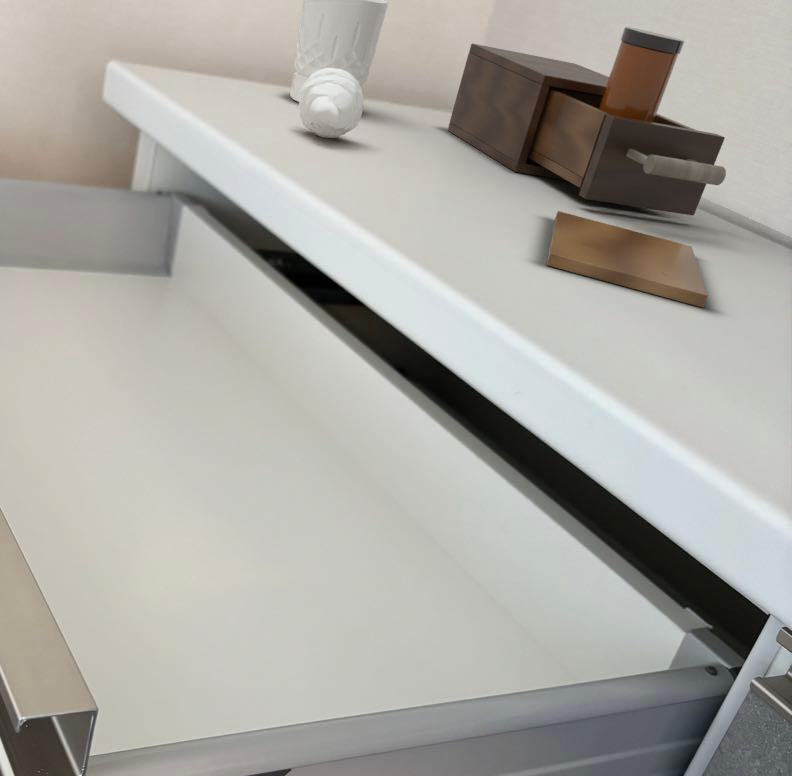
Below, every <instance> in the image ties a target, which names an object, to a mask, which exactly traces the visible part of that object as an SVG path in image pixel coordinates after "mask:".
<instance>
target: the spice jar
mask: <svg viewBox="0 0 792 776" xmlns="http://www.w3.org/2000/svg"><path fill="white" fill-rule="evenodd" d="M684 44H685V40H683V39H680V38H676V37H673V36H669V35H666V34H661V33H658V32H653V31H649V30H644V29H640V28H635V27H630V26H625V27H624V28H623V32H622V34H621V38H620V44H619V47H618V50H617V53H616V56H615V59H614V62H613V65H612V67H611V71H610V74H609V76H608V77H609V79H608V82H607V85H606V88H605V91H604V94H603V97H602V100H601V103H600V106H599V110H601V111H604V112H606V113H608V114H610V115H615V116H621V117H626V118H632V119H637V120H643V121H648V122H654V119H655V117H656V114H658V111H659V108H660V106H661V103H662V100H663V98H664V96H665V95H664V94H665V93H666V89H667V87H668V84H669V81H670V78H671V75H672V73H673V70H674V67H675V64H676V62H677V60H678V56H679V55H680V54H681V52H682V49H683V47H684Z"/></svg>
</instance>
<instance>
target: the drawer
mask: <svg viewBox="0 0 792 776" xmlns="http://www.w3.org/2000/svg"><path fill="white" fill-rule="evenodd" d="M602 97H603V96H599V95H594V94H588V93H583V92H578V91H572V90H567V89H562V88H556V87H551V86H550V87H549V91H548V94H547V97H546V100H545V103H544V107H543V110H542V113H541V116H540V119H539V122H538V126H537V129H536V132H535V135H534V138H533V141H532V145H531V148H530V151H529V154H528V158H529V159H531V160H533V161H535V162H536V163H538V164H540V165H541V166H543V167H545V168H547V169H548V170H550V171H552V172H553V173H555V174H557V175H559V176H560V177H562V178H564V179H565V180H564V181H567V182H569V183H571V184H572V185H574V186H576V187H577V188H578V189H580V190H579V193H578V196H579V197H581V198H583V199H585V200H588V201H596V202H601V203H608V204H615V205H622V206H628V207H634V208H640V209H641V208H642V209H646V210H647V209H648V210H654V211H661V212H668V213H672V214H673V213H674V214H679V215H687V216H694V215H695V214H696V211H697V209H698V206H699V203H700V201H701V199H702V196H703V193H704V190H705V188H706V186H707V185H712V186H720V185H721V184H722V183H723V182H724V181H725V179H726V176H727V170H726V168H725V167H724V166H722V165H716V161H717V159H718V156H719V154H720V151H721V149H722V147H723V144H724V141H725V138H726V137H724V136H723V135H721V134H718V133H713V132H709V131H703V130H698V129H695V128H692V127H690V126H688V125H685V124H683V123H680V122H678V121H676V120H674V119H670V118H669V117H666V116H664V115H661V114H659V113H657V114H656V117H655V119H654V122H648V121H643V120H637V119H632V118H626V117H621V116H615V115H610V114H608V113H606V112H604V111H601V110H599V106H600V103H601V100H602Z"/></svg>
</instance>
